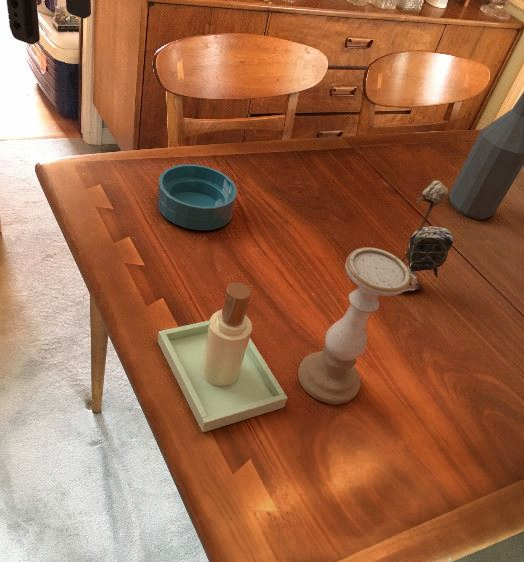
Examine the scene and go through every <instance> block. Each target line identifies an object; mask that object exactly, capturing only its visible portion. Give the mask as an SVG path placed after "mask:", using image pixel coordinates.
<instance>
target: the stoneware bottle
mask: <svg viewBox="0 0 524 562" xmlns="http://www.w3.org/2000/svg"><path fill="white" fill-rule="evenodd" d="M251 294H252V290H251V288H250V287H249V286H248V285H246V284H245V283H242V282H237V281H236V282H234V281H233V282H231V283H229V284H228V285H227V286H226V288H225V294H224V298H223V304H222V308H221V309H219V310H217V311H215V312H214V313H213V314H212V315H211V316H210V318H209V320H210V322H209V327H208V333H207V338H206V343H205V349H204V354H203V359H202V365H201V373H202V376H203V377H204V379H205V380H206V381H207V382H209V383H210V384H212V385H215V386H220V387H224V386H229V385H232V384H234V383H235V382H236V381H237V380H238V378H239V376H240V372H241V368H242V365H243V361H244V357H245V353H246V350H247V346H248V342H249V339H250V338H251V335H252V331H253V324H252V321H251V320H250V318H249V316H247V310H248V306H249V302H250V298H251Z"/></svg>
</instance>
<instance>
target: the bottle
mask: <svg viewBox="0 0 524 562" xmlns="http://www.w3.org/2000/svg"><path fill="white" fill-rule="evenodd" d="M523 167H524V91H522V93H521V95H520V96H519V98H518V99H517V101H516V102H515V103H514V105H513V107H512V108H511V109H510V110H508V111H507V112H505V113H503V114H502V115H500V116H499V117H498V118H496V119H495V120H494V121H492V122H490V123H489V124H487V125H486V126H484V127H483V128H482V129H481V130H480V132H479V134H478V135H477V137H476V139H475V142H474V144H473V146H472V147H471V149H470V151H469V153H468V156H467V157H466V160H465V161H464V163H463V165H462V167H461V169H460V171H459V174H458V175H457V177H456V179H455V181H454V183H453V184H452V186H451V189H450V190H449V192H448V193H449V195H448V196H449V204H450V206H451V207H452V208H453V209H454V210H455V211H457V213H459V214H461V215H462V216H463V217H468V218H470V219H474V220H477V221H485V220H486V219H488V218H490V217H491V216H493V215H495V214H496V212H497V211H498V209H499V207H500V205H501V204H502V202H503V201H504V199H505V197H506V196H507V193H508V192H509V190H510V189H511V187H512V185H513V183H514V182H515V180H516V179H517V177H518V175H519V174H520V172H521V170H522V168H523Z"/></svg>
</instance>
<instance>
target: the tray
mask: <svg viewBox="0 0 524 562" xmlns="http://www.w3.org/2000/svg"><path fill="white" fill-rule="evenodd" d="M209 322H210V319H209V320H204V321H200V322H196V323H191V324H187V325H181V326H178V327H173V328H167V329H163V330H159V331H158V335H157V343H158V345H159V347H160V350H161V351H162V354H163V355H164V357H165V359H166V362H167V364H168V365H169V367H170V370H171V372H172V374H173V375H174V378H175V380H176V382H177V384H178V386H179V387H180V390H181V392H182V394H183V396H184V398H185V400H186V402H187V404H188V406H189V408H190V410H191V413H192V414H193V416H194V419H195V420H196V422H197V424H198V427H199V428H200V430H201V432H202V433H206V432H209V431H213V430H216V429H218V428H222V427H225V426H228V425H232V424H235V423H238V422H241V421H244V420H247V419H251V418H255V417H257V416H260V415H264V414H267V413H270V412H275V411H276V410H277V411H278V410H280V409H283V408H284V407H285V406H286V403H287V400H288V396H287V394H286V393H285V391H284V389H283V388H282V386H281V385H280V384H279V383H280V382H279V381H278V380H277V378H276V377H275V375H274V374H273V372H272V370H271V369H270V367H269V365H268V364H267V362H266V361H265V359H264V357H263V356H262V354H261V352H260V351H259V349H258V348H257V346H256V345H255V343H254V340H252V338H251V337H250V339H249V342H248V346H247V350H246V353H245V357H244V361H243V365H242V368H241V372H240V376H239V378H238V380H237V381H236V382H235V383H234V384H232V385H229V386H224V387H220V386H215V385H212V384H210V383H209V382H207V381H206V380H205V379H204V377H203V376H202V373H201V365H202V359H203V354H204V349H205V343H206V338H207V333H208V327H209Z"/></svg>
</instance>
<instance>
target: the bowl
mask: <svg viewBox="0 0 524 562" xmlns="http://www.w3.org/2000/svg"><path fill="white" fill-rule="evenodd" d="M237 196H238V188H237V185H236V183H235V182H234V180H233V179H231V178H230V176H228V175H227V174H225V173H224V172H222V171H220V170H218V169H216V168H212V167H210V166H206V165H200V164H196V163H194V164H193V163H191V164H190V163H183V164H178V165H173V166H171V167H167V169H165V170H164V171H163V172H162V173H161V174H160V175H159V179H158V187H157V199H156V205H157V208H158V211H159V212H160V214H161V215H162V216H163V217H164V218H165V219H166V220H167V221H170V222H171V223H172V224H174V225H177V226H179V227H182V228H184V229H188V230H195V231H212V230H216V229H220V228H221V229H222V227H224V226H226V225H227V224H229V223H230V222H231V220H232V218H234V212H235V207H236V202H237V198H238V197H237Z"/></svg>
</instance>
